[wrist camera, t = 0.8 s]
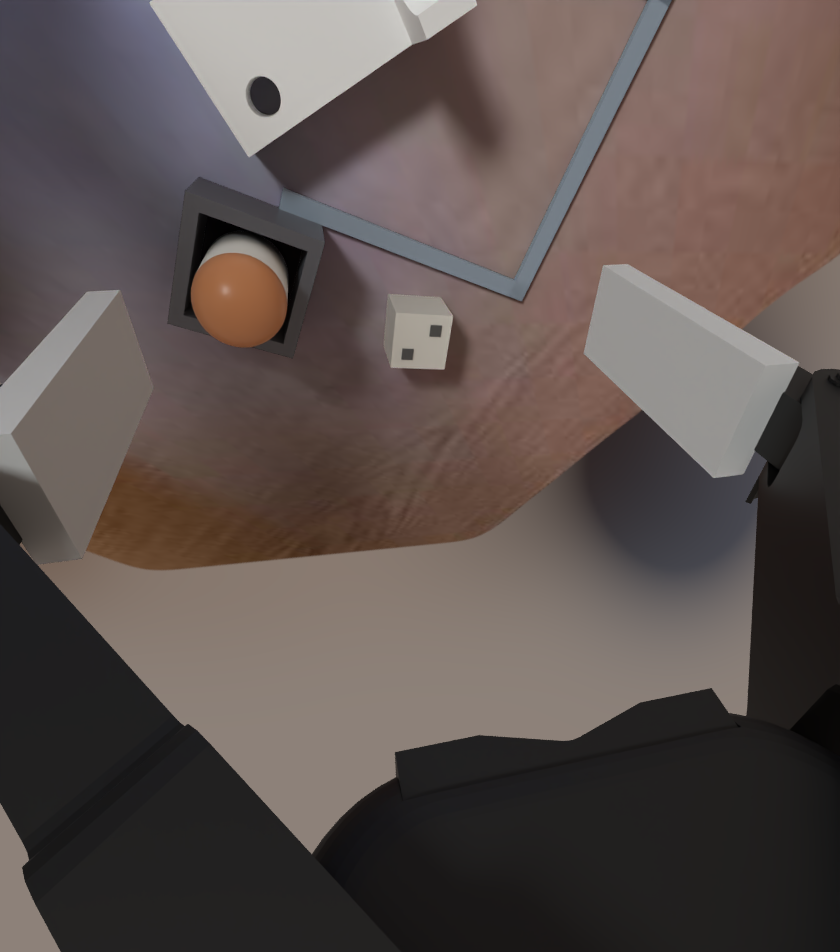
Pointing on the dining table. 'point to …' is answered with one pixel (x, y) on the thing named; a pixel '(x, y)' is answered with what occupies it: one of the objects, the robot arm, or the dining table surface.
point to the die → (417, 331)
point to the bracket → (293, 50)
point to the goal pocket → (556, 209)
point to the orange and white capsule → (241, 289)
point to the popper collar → (257, 218)
